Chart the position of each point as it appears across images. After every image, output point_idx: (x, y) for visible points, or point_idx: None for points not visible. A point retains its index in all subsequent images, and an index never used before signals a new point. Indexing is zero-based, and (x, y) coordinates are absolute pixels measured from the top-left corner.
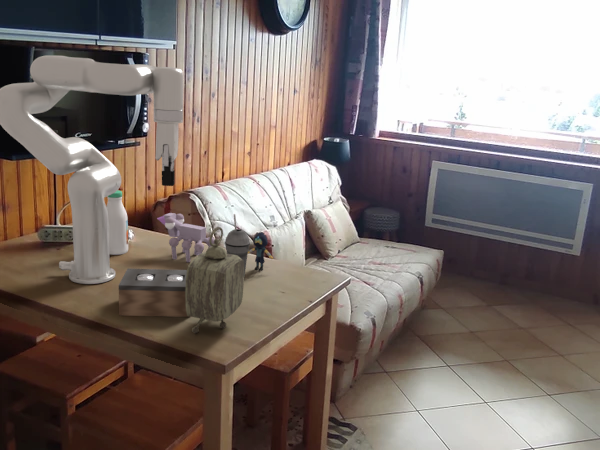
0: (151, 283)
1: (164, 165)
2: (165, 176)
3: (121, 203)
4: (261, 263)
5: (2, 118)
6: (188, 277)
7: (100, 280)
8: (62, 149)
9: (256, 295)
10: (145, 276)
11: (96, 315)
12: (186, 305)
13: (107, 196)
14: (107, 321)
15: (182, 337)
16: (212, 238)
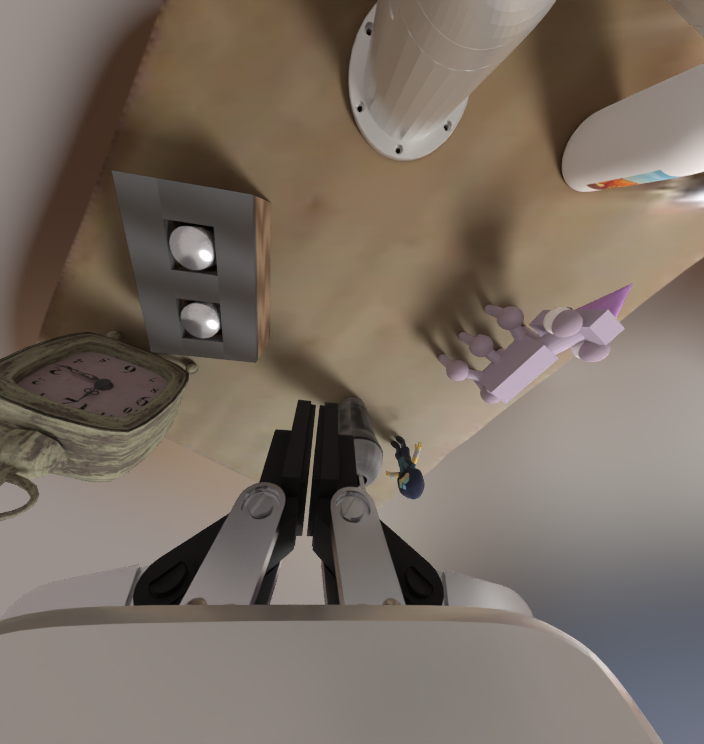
0: (150, 265)
1: (23, 606)
2: (264, 465)
3: None
4: (396, 452)
5: None
6: None
7: (354, 115)
8: None
9: (286, 428)
10: (193, 249)
11: (152, 122)
12: (58, 338)
13: None
14: (125, 155)
15: (96, 313)
16: (490, 401)
